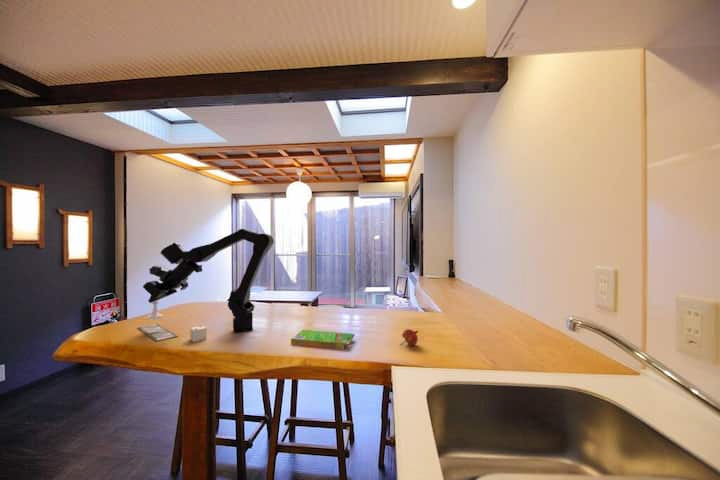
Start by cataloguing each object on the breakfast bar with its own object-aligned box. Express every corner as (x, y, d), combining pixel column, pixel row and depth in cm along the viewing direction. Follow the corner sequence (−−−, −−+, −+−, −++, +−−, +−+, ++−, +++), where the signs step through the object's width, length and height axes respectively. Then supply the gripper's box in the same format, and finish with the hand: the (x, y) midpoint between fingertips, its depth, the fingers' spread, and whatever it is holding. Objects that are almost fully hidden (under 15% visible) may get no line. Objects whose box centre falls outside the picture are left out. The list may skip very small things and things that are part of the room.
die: (202, 336, 96) (202, 325, 96) (206, 339, 93) (206, 327, 94) (190, 339, 93) (190, 327, 93) (193, 342, 91) (193, 330, 91)
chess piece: (165, 316, 103) (166, 291, 103) (151, 320, 98) (152, 293, 98) (157, 315, 104) (158, 290, 105) (143, 318, 100) (144, 292, 100)
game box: (302, 337, 99) (355, 339, 95) (290, 347, 90) (348, 350, 85) (302, 329, 99) (355, 331, 95) (290, 338, 90) (348, 341, 85)
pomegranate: (405, 354, 87) (424, 340, 86) (394, 339, 88) (413, 326, 87) (404, 349, 92) (422, 336, 92) (395, 335, 93) (412, 323, 93)
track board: (177, 336, 95) (177, 335, 95) (156, 341, 90) (156, 341, 90) (157, 324, 109) (157, 323, 109) (137, 328, 104) (137, 327, 104)
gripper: (180, 256, 111) (153, 283, 110) (148, 259, 93) (115, 291, 92) (200, 275, 112) (172, 301, 111) (172, 281, 93) (138, 313, 92)
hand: (151, 301), depth 101 cm, fingers closed on chess piece
